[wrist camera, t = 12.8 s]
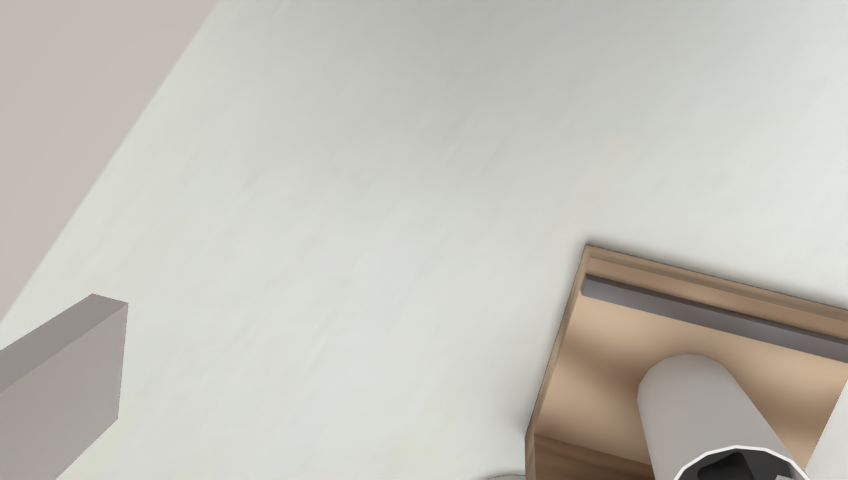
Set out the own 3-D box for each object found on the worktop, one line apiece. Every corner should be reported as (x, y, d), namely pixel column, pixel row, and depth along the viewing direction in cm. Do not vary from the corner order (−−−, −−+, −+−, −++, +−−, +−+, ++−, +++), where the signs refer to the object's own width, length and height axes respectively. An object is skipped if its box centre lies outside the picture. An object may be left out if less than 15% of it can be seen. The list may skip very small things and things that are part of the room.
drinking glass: (609, 376, 41) (637, 480, 32) (714, 327, 39) (778, 421, 30) (660, 462, 42) (702, 587, 33) (765, 418, 41) (841, 536, 31)
